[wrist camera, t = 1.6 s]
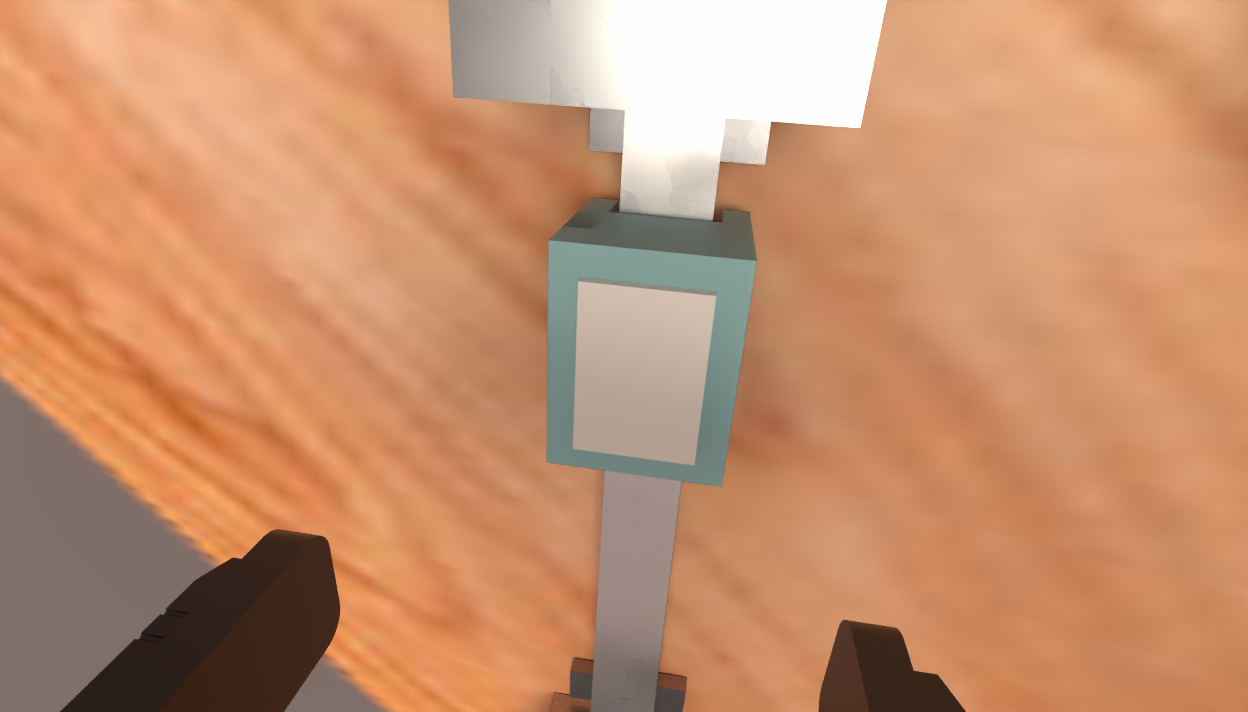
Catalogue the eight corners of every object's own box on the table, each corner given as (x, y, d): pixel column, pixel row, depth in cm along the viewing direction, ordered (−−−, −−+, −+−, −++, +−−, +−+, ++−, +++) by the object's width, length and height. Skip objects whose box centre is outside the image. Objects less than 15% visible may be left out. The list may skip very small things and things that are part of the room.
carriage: (749, 212, 21) (757, 265, 16) (723, 393, 24) (721, 495, 19) (592, 197, 22) (544, 244, 16) (586, 376, 25) (542, 469, 19)
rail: (772, 99, 21) (779, 104, 18) (682, 703, 34) (678, 758, 31) (595, 86, 22) (576, 89, 19) (573, 683, 34) (559, 736, 32)
